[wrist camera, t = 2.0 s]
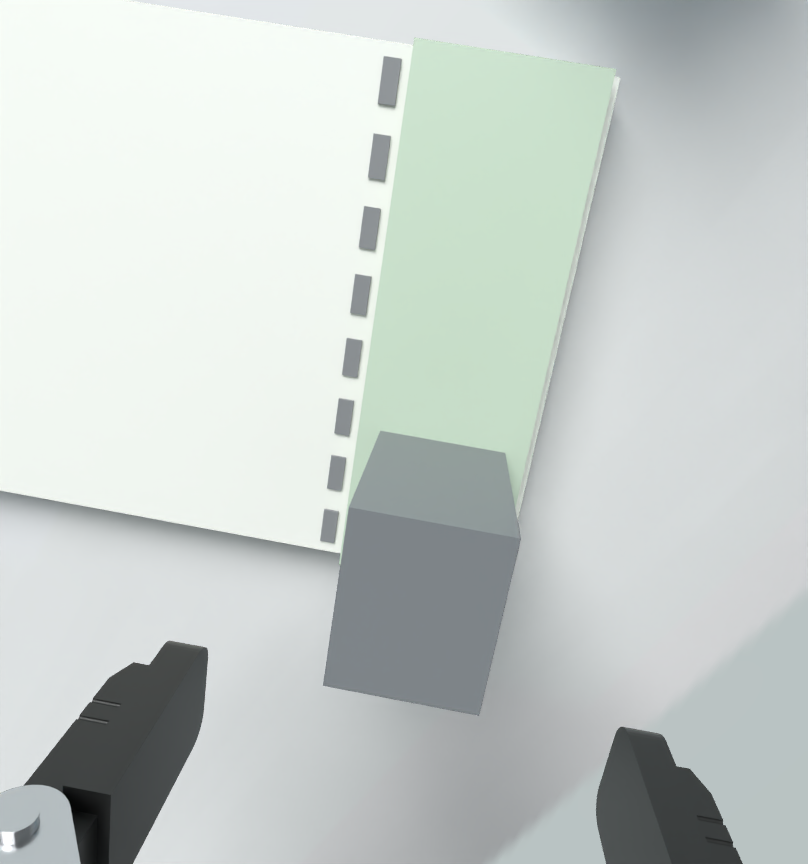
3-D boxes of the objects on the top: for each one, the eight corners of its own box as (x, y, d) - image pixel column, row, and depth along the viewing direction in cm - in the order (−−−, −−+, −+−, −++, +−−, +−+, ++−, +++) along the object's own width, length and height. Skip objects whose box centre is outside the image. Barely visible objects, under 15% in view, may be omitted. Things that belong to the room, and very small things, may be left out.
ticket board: (-163, -34, 20) (-214, -54, 19) (609, 88, 19) (621, 76, 18) (-119, 448, 25) (-156, 463, 24) (500, 562, 24) (503, 585, 23)
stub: (415, 43, 18) (390, -56, 12) (611, 74, 18) (690, -9, 12) (341, 556, 23) (296, 680, 17) (494, 585, 23) (506, 720, 17)
